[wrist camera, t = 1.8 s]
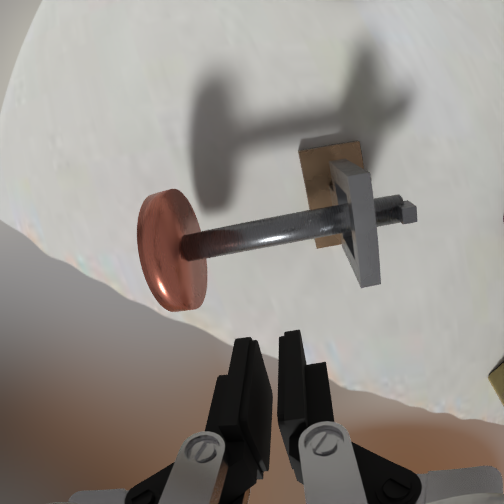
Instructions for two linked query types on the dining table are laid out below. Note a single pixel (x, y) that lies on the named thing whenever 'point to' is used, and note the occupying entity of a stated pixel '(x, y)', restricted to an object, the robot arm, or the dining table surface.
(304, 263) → the dining table surface
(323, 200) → the eye post
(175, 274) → the copper disc on rod
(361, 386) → the dining table surface
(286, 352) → the robot arm
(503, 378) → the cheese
